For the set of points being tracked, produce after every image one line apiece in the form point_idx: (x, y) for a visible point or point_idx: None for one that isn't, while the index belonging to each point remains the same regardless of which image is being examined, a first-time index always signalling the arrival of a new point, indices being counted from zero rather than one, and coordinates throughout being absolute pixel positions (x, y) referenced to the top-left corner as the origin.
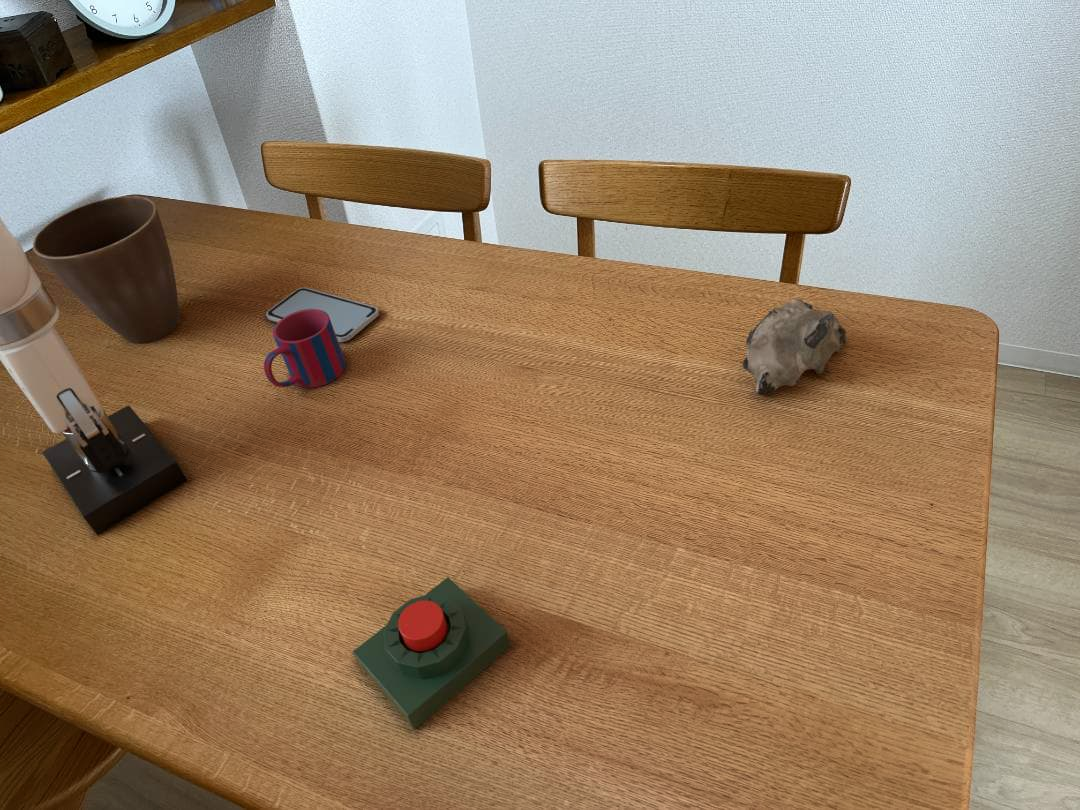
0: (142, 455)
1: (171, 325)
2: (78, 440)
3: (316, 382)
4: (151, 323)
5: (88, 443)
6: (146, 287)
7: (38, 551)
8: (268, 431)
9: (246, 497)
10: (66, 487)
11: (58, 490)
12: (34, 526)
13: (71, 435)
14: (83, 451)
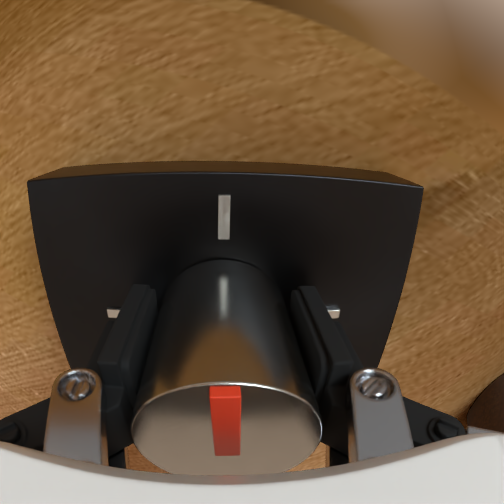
0: None
1: (468, 423)
2: (49, 405)
3: None
4: (481, 427)
5: (39, 403)
6: None
7: (127, 40)
8: (134, 450)
9: (18, 378)
10: (185, 176)
11: (312, 144)
12: (227, 52)
13: (150, 392)
14: (104, 346)
